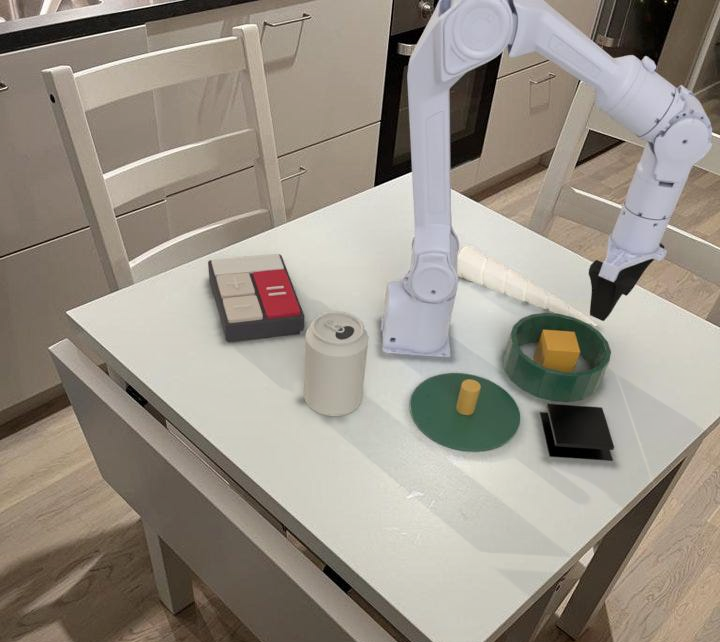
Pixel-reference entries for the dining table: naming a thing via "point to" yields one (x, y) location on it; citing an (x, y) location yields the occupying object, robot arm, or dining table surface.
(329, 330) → the can
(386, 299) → the robot arm
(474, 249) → the unicorn horn
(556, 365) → the block
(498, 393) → the tin lid
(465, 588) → the dining table surface
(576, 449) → the stand
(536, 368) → the tin
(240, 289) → the calculator
